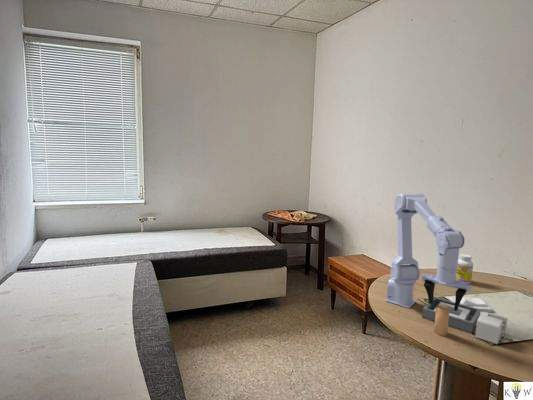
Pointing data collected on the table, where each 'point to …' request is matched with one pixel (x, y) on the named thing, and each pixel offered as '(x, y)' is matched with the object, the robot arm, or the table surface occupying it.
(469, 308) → the walled box
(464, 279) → the supplement bottle
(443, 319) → the brown cylindrical peg
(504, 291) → the table surface
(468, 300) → the light switch
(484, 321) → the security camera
